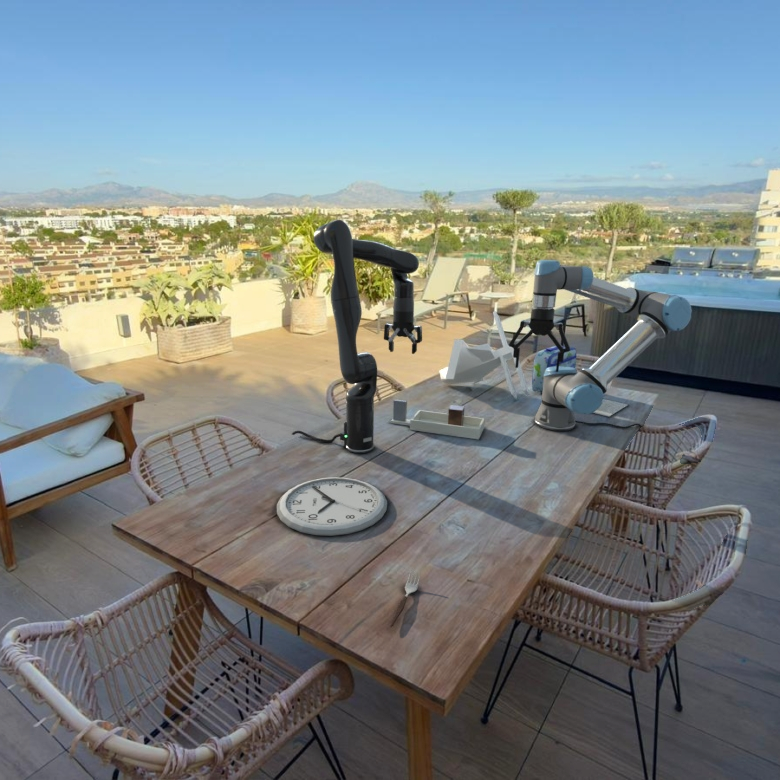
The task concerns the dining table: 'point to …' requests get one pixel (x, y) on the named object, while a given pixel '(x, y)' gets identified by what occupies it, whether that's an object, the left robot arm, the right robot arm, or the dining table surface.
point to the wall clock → (331, 506)
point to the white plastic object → (481, 362)
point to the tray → (436, 422)
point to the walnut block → (456, 415)
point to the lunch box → (549, 364)
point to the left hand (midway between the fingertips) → (402, 352)
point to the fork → (409, 589)
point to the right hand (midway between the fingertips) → (536, 368)
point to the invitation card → (609, 407)
